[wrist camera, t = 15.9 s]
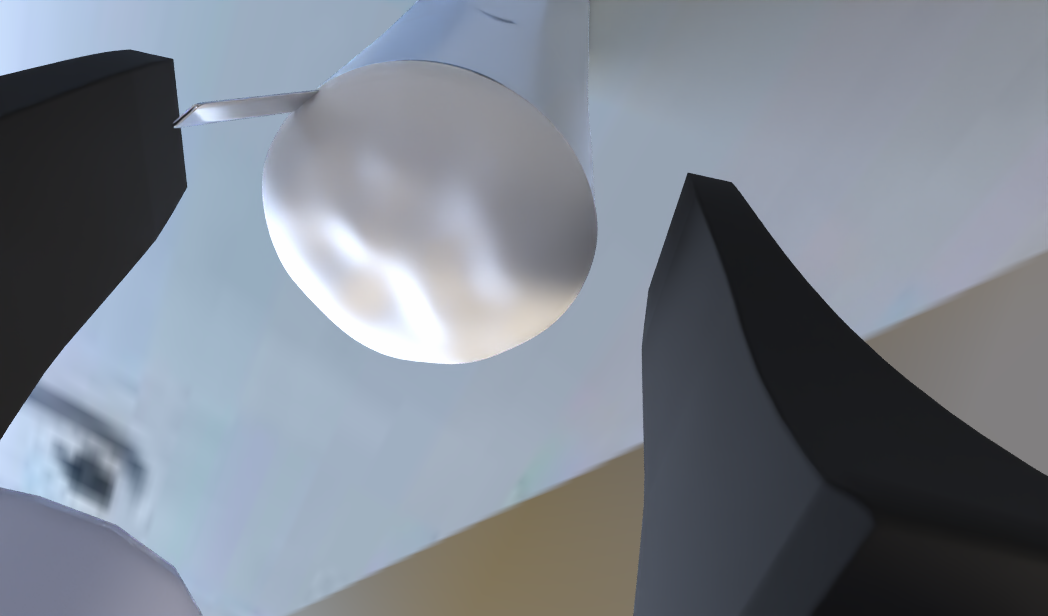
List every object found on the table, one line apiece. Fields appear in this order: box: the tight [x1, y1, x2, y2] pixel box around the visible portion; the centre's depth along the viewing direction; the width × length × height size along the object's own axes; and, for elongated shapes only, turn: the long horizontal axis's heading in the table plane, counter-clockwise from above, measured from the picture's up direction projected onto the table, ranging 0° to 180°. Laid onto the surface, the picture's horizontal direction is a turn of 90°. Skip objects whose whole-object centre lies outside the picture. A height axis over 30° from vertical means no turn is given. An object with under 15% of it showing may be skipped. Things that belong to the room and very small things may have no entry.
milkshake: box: [172, 0, 597, 364], centre depth 13 cm, size 5×5×10 cm
